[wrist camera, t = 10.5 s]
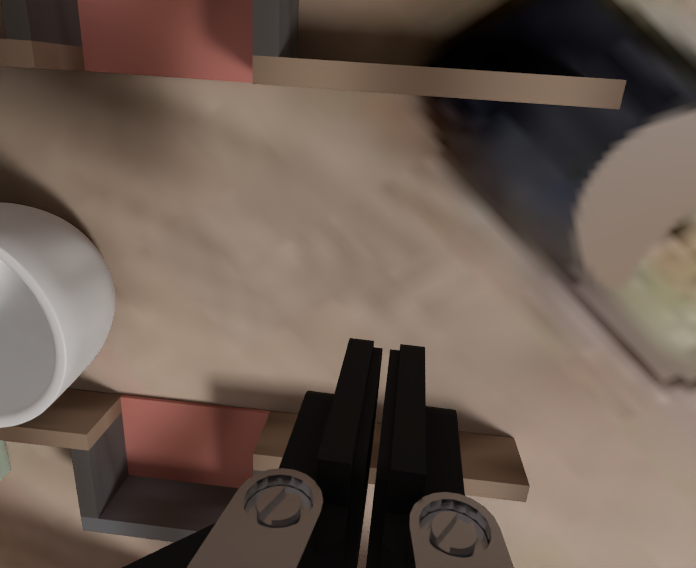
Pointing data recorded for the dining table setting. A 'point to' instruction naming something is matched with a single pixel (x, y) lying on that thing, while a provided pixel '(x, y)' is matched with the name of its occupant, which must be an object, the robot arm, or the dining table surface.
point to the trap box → (205, 419)
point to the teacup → (47, 309)
